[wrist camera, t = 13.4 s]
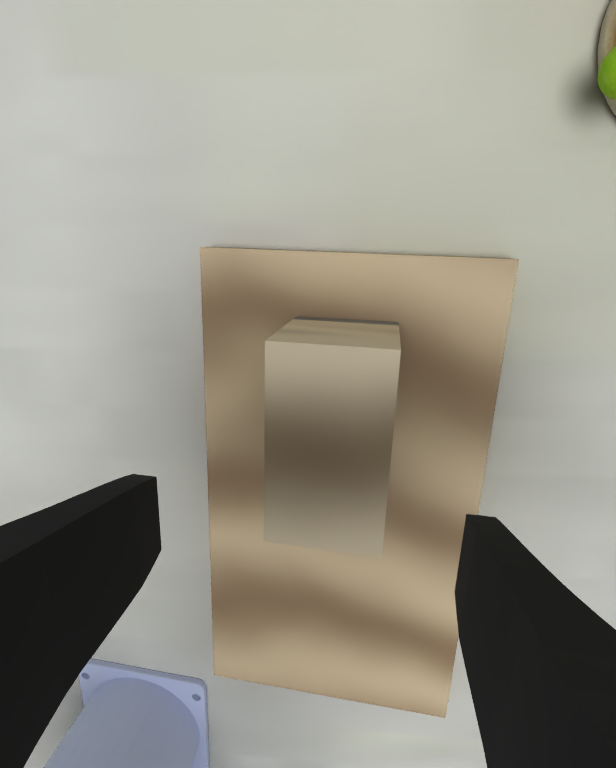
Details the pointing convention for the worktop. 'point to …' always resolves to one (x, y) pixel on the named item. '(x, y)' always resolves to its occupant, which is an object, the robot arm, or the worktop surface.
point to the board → (406, 480)
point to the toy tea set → (608, 57)
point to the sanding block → (329, 432)
